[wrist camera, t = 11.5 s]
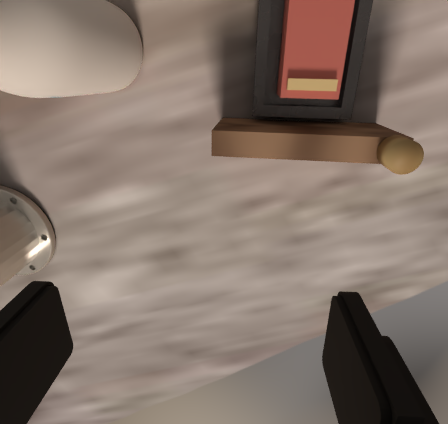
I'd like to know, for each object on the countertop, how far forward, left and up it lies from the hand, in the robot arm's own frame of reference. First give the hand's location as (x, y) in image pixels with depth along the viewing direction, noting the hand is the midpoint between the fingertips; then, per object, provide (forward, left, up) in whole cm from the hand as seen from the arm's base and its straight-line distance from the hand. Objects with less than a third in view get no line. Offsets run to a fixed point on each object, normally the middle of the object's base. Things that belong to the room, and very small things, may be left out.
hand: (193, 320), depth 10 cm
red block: (+6, +10, -24) cm, 26 cm away
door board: (+6, +3, -24) cm, 25 cm away
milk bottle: (-13, +10, -24) cm, 29 cm away
